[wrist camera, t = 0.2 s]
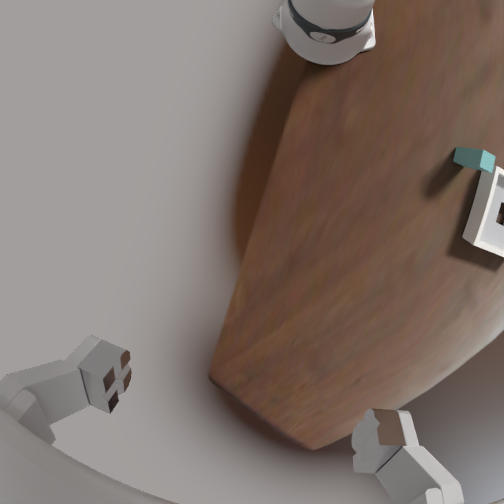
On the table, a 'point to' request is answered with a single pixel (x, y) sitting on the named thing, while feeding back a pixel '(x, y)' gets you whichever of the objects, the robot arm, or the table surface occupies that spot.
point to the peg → (474, 159)
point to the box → (487, 213)
